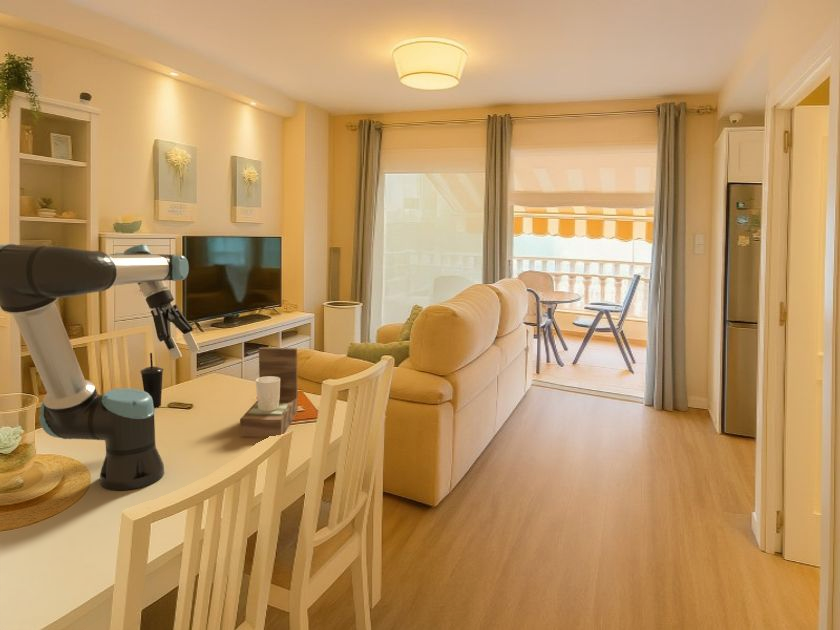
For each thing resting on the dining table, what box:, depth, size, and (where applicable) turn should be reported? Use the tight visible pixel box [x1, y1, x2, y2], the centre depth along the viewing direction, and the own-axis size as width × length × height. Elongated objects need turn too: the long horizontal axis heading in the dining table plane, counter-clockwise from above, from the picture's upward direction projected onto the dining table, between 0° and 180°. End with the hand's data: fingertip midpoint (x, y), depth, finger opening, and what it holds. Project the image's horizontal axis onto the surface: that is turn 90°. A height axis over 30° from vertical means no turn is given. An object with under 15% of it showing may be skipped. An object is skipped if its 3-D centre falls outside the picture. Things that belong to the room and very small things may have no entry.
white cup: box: [255, 376, 280, 411], centre depth 185 cm, size 8×8×10 cm
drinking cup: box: [139, 352, 164, 409], centre depth 203 cm, size 8×8×20 cm
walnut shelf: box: [239, 347, 299, 439], centre depth 187 cm, size 24×13×24 cm, turn 0°
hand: (186, 354), depth 176 cm, fingers open, 13 cm apart
